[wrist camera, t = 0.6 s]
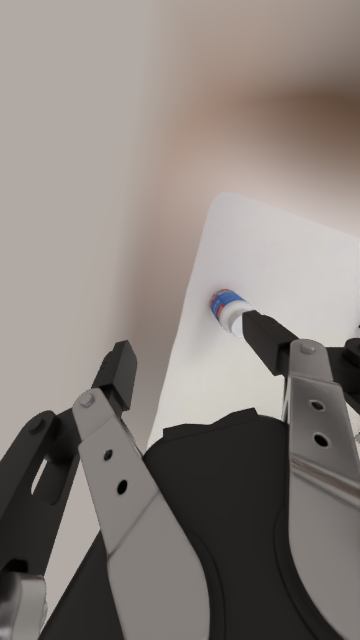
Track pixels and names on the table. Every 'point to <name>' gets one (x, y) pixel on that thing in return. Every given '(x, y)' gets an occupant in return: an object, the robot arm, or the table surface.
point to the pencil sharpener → (358, 437)
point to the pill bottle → (230, 311)
